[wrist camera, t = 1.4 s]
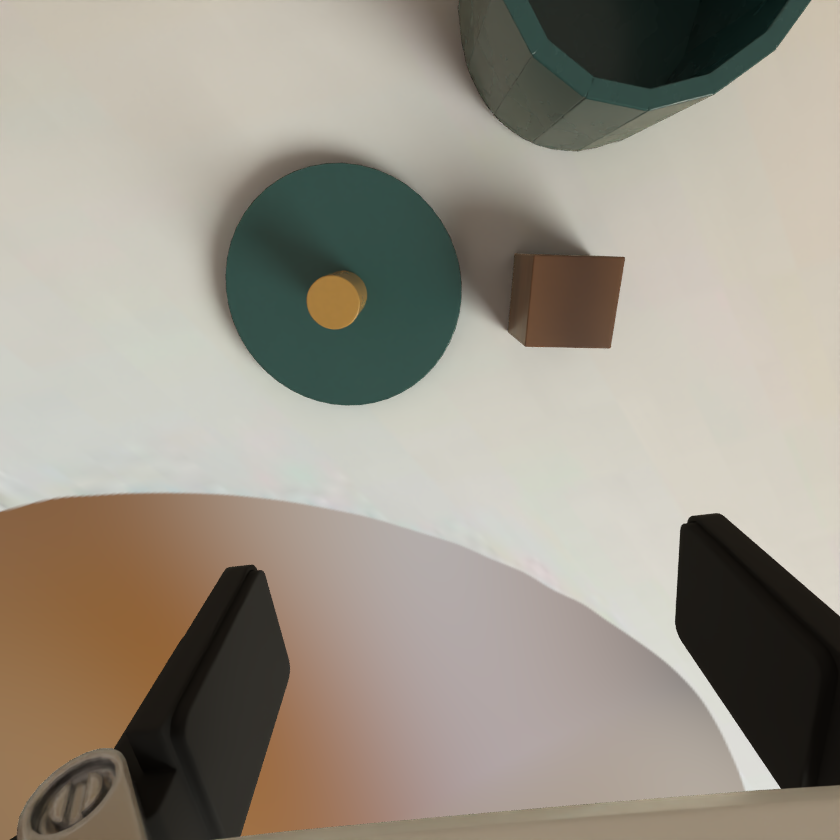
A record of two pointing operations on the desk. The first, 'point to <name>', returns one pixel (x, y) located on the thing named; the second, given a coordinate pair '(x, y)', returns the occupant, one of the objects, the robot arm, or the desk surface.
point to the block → (564, 300)
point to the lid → (343, 284)
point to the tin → (611, 60)
